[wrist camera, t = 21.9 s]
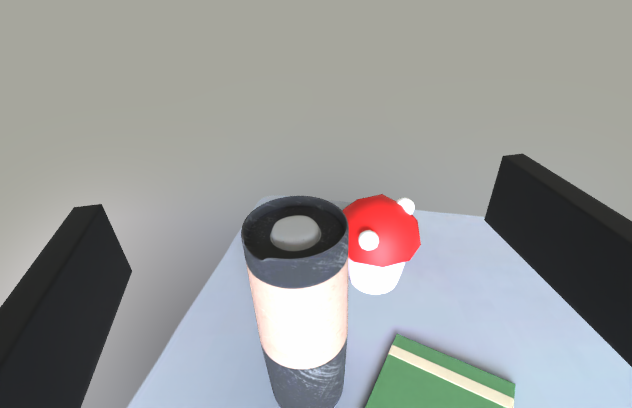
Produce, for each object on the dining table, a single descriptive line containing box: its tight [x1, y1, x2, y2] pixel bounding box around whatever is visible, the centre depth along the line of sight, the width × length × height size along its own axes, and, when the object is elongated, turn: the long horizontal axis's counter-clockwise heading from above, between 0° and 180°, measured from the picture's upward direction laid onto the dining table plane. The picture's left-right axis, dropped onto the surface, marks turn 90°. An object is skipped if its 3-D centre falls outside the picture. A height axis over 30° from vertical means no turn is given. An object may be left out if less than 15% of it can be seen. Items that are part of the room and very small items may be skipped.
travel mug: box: [241, 196, 349, 408], centre depth 29 cm, size 8×8×20 cm
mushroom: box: [343, 194, 421, 295], centre depth 44 cm, size 11×11×12 cm
